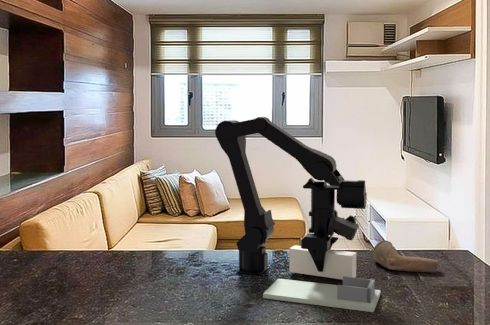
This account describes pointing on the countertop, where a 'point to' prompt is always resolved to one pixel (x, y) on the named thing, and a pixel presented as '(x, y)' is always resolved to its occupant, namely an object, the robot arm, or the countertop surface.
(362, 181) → the robot arm
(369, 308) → the bracket board
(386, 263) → the pipe
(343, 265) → the block
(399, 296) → the countertop surface
